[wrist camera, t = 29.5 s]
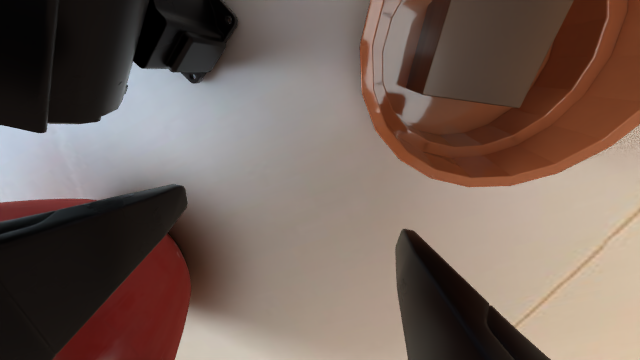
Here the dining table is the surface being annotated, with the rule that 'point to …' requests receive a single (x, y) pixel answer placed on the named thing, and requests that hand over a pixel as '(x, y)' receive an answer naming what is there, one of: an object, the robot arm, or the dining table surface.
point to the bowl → (499, 121)
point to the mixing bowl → (128, 301)
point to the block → (484, 48)
